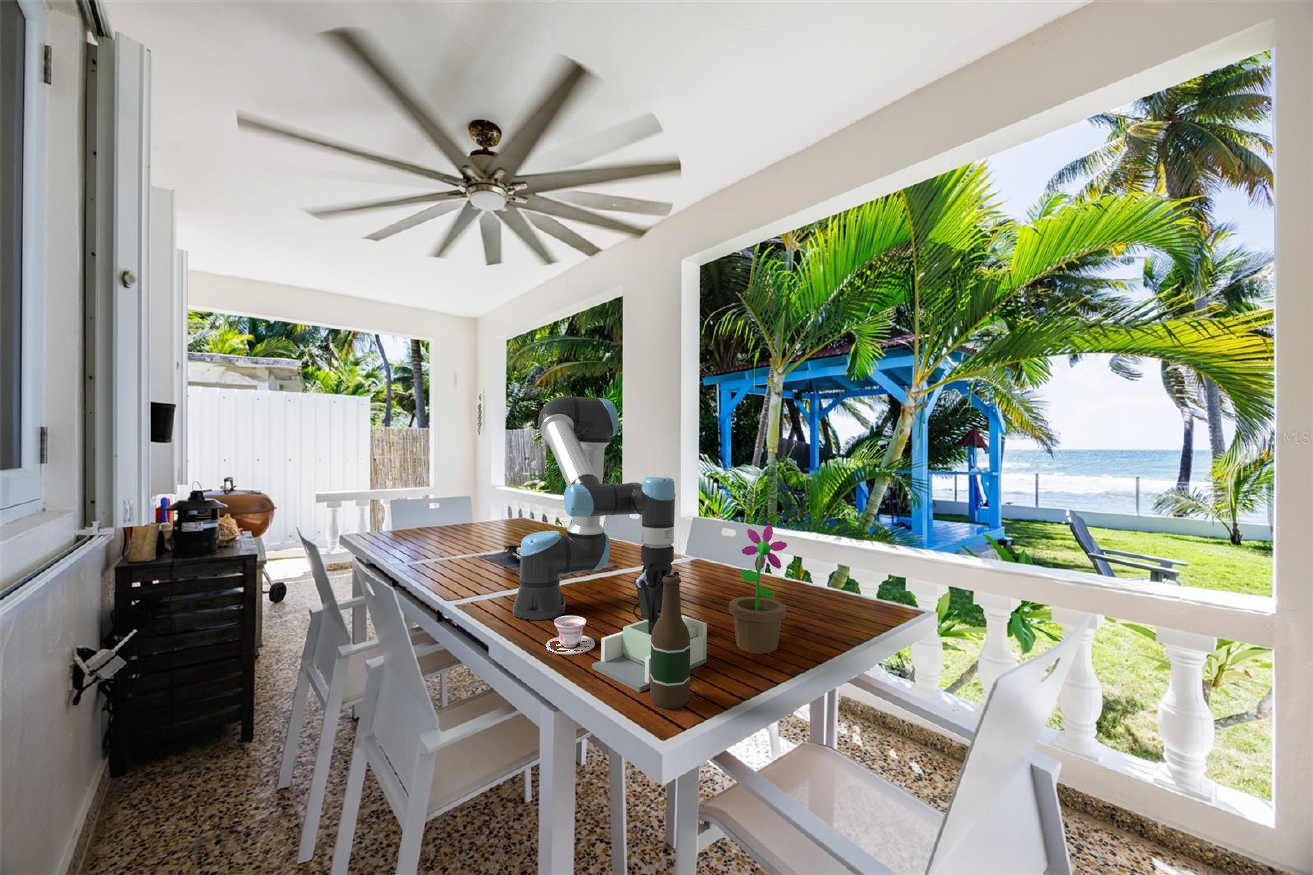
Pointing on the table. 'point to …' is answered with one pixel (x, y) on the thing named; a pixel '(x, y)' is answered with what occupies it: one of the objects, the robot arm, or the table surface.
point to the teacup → (571, 635)
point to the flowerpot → (758, 601)
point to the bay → (637, 673)
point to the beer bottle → (670, 651)
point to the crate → (641, 641)
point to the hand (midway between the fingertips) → (655, 648)
